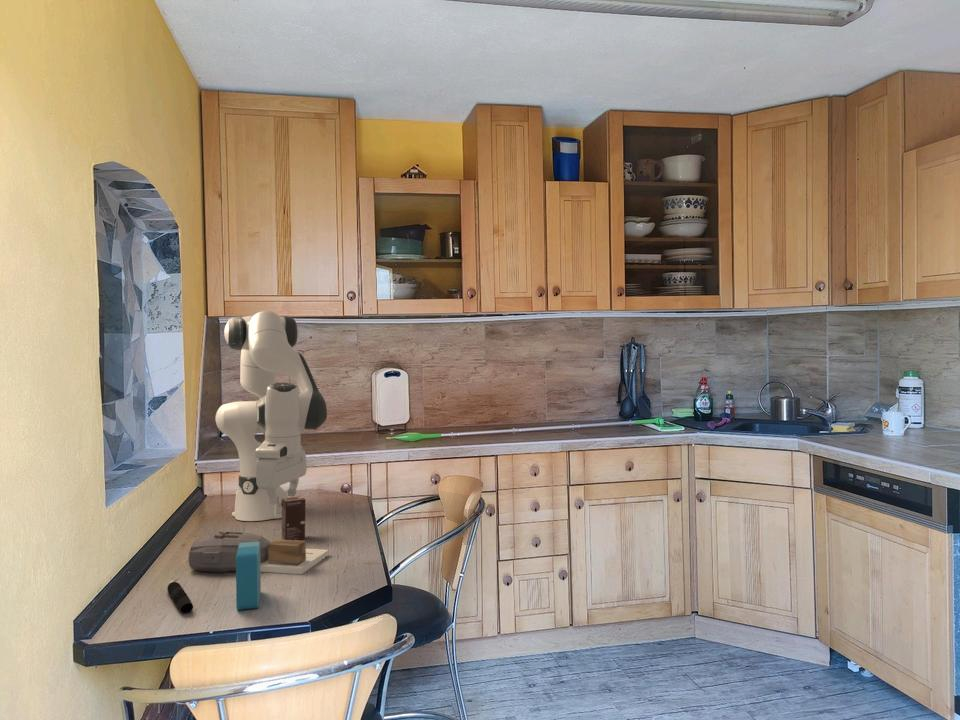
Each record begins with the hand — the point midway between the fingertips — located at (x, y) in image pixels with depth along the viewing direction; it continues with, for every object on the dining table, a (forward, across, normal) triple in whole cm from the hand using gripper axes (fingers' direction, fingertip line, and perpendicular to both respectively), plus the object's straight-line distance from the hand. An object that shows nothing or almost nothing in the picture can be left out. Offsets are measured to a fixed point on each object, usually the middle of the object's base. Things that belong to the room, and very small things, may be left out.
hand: (283, 499), depth 175 cm
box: (+18, -24, -9) cm, 31 cm away
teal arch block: (+17, +24, +5) cm, 30 cm away
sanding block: (+16, +1, +2) cm, 16 cm away
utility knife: (+18, +26, -12) cm, 33 cm away
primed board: (+17, -3, +2) cm, 17 cm away
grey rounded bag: (+18, +2, -13) cm, 22 cm away
